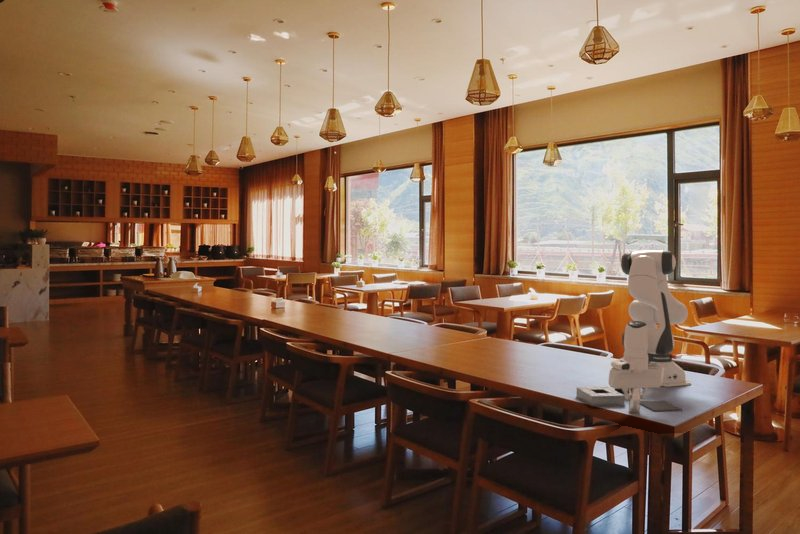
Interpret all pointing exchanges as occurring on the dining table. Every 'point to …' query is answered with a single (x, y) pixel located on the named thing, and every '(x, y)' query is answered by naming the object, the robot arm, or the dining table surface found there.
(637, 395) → the steel peg
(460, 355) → the dining table surface
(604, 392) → the block
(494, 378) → the dining table surface
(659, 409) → the rubber mat
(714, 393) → the dining table surface
